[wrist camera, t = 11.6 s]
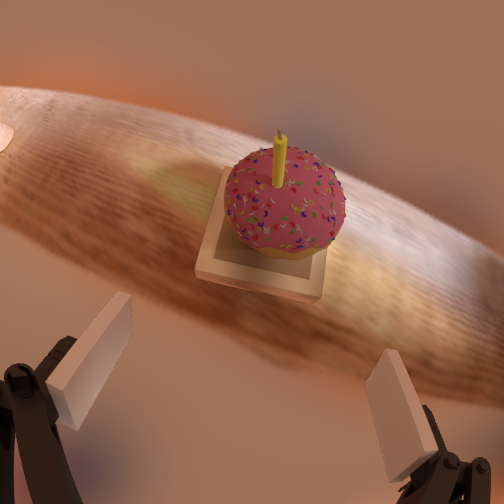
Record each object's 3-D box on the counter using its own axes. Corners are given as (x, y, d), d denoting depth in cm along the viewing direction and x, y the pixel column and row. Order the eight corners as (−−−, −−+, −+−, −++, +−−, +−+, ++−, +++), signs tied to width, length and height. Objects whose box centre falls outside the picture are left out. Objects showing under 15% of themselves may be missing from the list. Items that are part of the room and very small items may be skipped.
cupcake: (250, 295, 22) (282, 220, 11) (205, 203, 25) (201, 87, 14) (342, 252, 24) (422, 167, 13) (293, 172, 27) (333, 66, 16)
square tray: (323, 205, 29) (332, 190, 27) (312, 303, 25) (322, 296, 23) (224, 181, 29) (225, 164, 26) (196, 278, 25) (194, 268, 23)
